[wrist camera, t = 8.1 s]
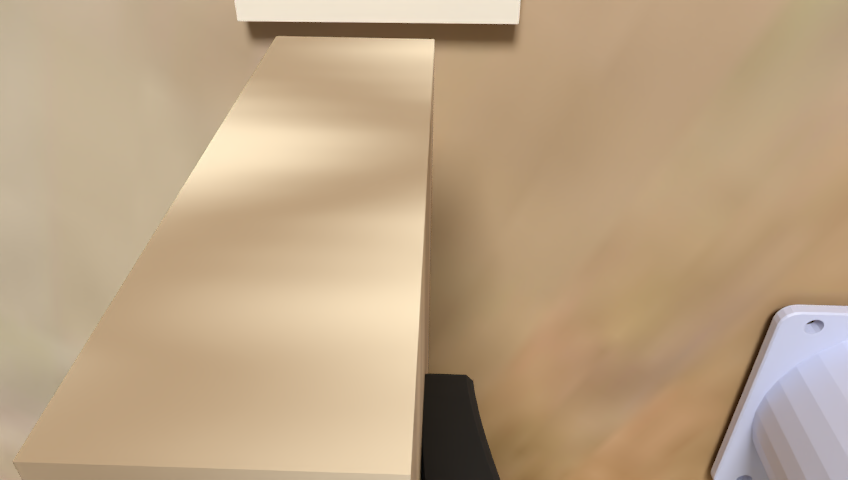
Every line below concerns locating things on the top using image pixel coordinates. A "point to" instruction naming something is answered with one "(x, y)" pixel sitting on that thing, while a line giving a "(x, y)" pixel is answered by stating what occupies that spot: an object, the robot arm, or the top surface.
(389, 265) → the tan wooden block
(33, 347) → the top surface
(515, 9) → the tile
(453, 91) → the top surface
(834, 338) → the robot arm
